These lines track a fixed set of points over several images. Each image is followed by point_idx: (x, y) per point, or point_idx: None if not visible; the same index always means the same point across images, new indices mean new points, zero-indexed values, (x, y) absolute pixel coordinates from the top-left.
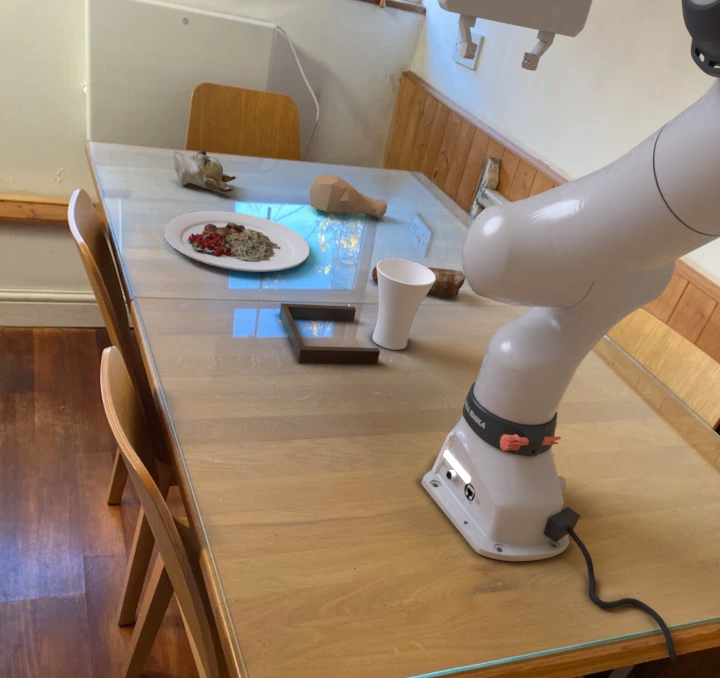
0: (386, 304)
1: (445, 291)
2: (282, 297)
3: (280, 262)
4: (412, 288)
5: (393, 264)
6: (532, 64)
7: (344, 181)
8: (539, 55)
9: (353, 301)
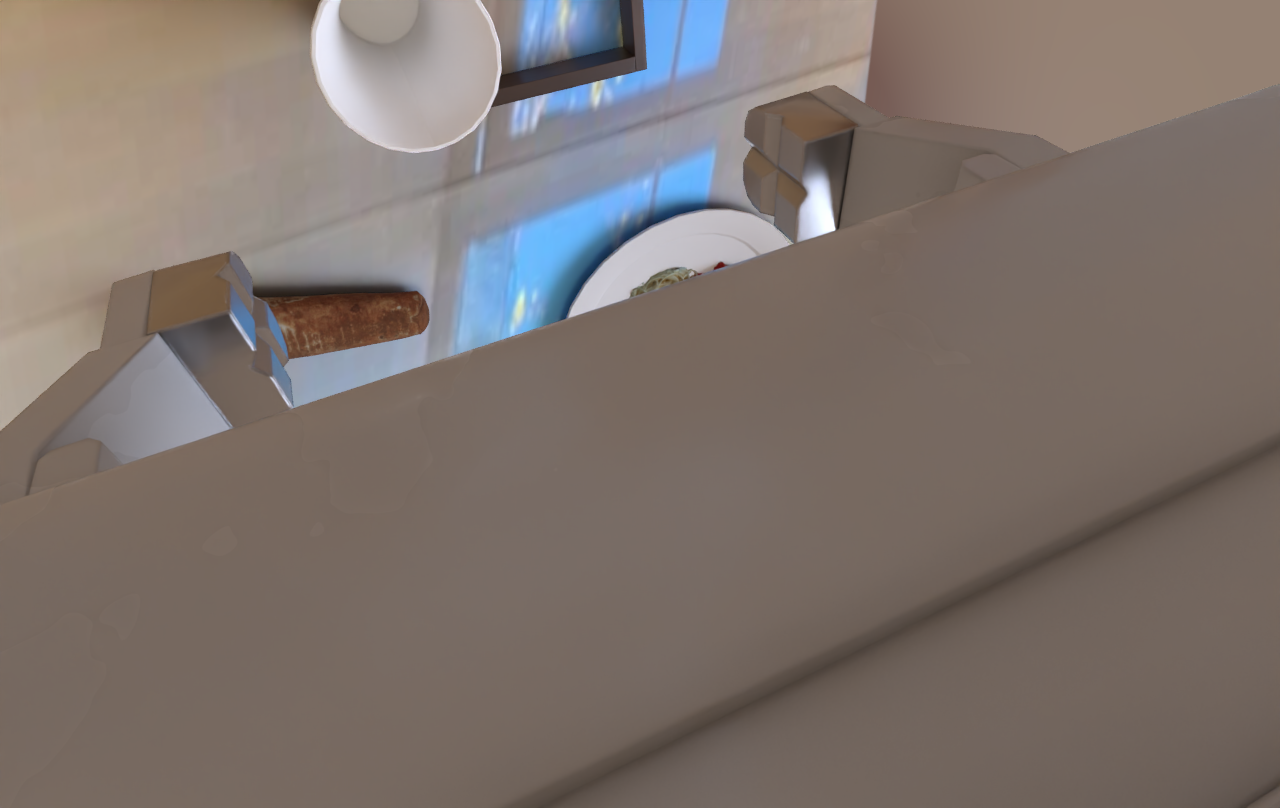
0: None
1: None
2: (619, 150)
3: (612, 291)
4: None
5: (441, 132)
6: (176, 278)
7: None
8: (115, 348)
9: (466, 189)
